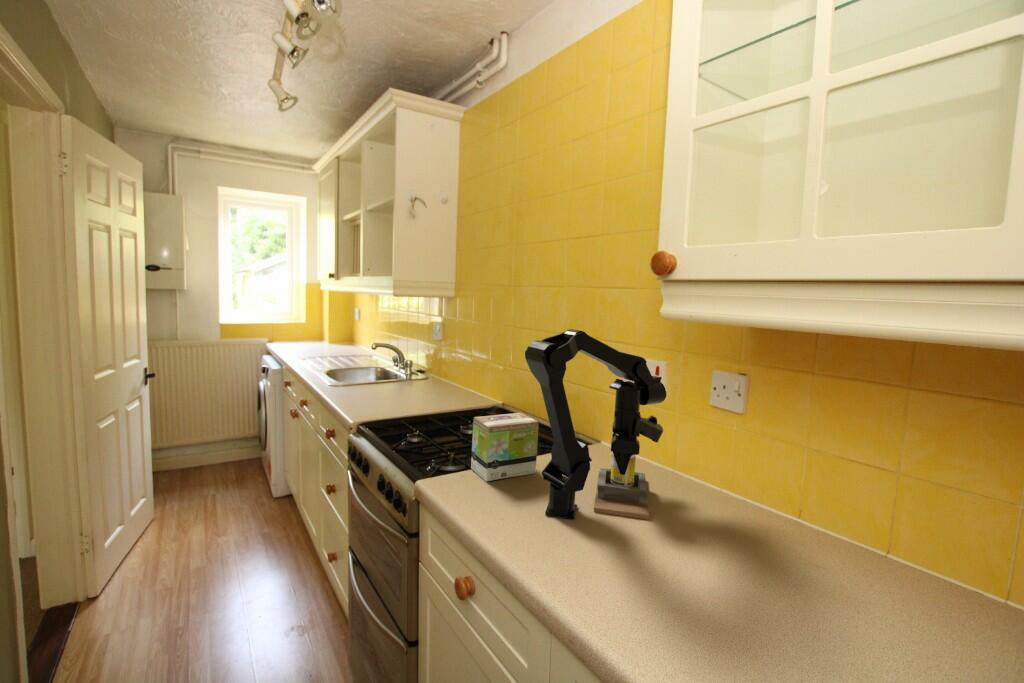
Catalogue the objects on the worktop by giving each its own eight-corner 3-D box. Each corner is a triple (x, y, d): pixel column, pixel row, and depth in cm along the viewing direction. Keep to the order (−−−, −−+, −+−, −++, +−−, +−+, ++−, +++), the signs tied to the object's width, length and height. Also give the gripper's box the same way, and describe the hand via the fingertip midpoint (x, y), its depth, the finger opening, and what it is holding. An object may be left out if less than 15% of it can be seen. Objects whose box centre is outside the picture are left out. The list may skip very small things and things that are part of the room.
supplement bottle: (630, 479, 117) (633, 439, 116) (636, 489, 111) (639, 447, 110) (608, 478, 117) (610, 438, 116) (612, 488, 111) (615, 446, 110)
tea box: (486, 483, 118) (488, 426, 117) (470, 469, 127) (471, 416, 125) (537, 473, 126) (539, 420, 124) (518, 461, 134) (520, 410, 133)
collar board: (649, 519, 102) (650, 502, 102) (593, 511, 105) (594, 494, 105) (644, 480, 124) (645, 465, 123) (598, 474, 126) (599, 460, 126)
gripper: (665, 420, 101) (660, 490, 103) (659, 401, 119) (654, 460, 121) (613, 415, 104) (608, 483, 105) (614, 397, 122) (610, 455, 123)
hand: (622, 469), depth 114 cm, fingers closed on supplement bottle, 6 cm apart
